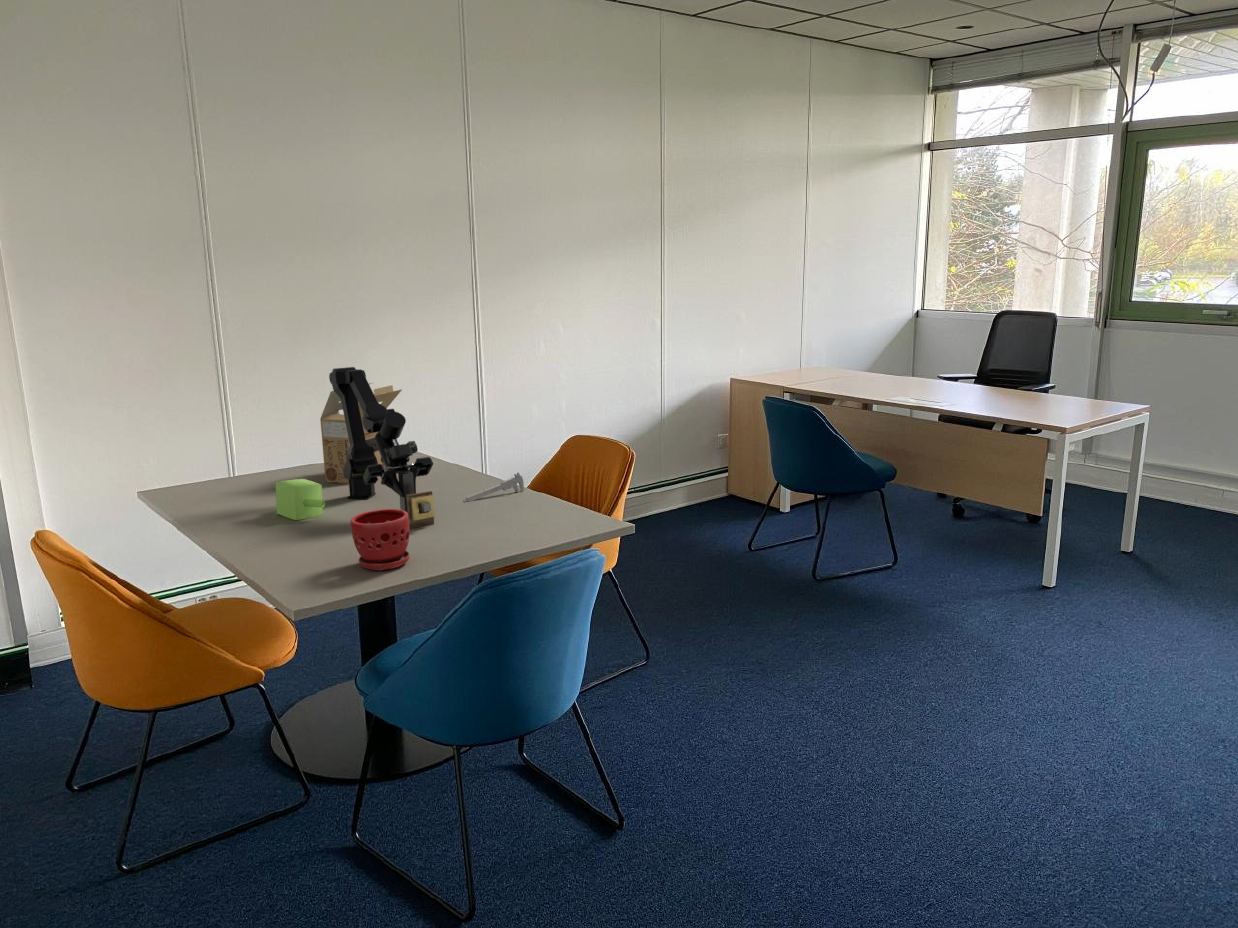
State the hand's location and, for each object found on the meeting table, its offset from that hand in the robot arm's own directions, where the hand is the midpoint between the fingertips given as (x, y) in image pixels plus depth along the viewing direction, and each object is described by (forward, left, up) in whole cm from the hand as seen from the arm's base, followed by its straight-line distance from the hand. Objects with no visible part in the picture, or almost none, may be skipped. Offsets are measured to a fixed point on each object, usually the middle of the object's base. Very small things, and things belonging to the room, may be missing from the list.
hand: (409, 495), depth 253 cm
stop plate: (+4, -4, -7) cm, 9 cm away
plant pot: (+7, -37, -7) cm, 38 cm away
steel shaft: (+3, -3, -7) cm, 8 cm away
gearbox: (-32, +3, -7) cm, 33 cm away
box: (-34, +50, -7) cm, 61 cm away
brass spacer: (+6, -6, -5) cm, 9 cm away
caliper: (+16, +28, -8) cm, 33 cm away
